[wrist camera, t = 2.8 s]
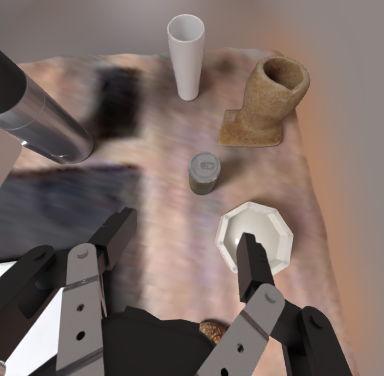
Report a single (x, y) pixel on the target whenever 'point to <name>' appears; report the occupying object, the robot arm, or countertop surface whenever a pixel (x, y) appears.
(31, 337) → the square plate
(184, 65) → the drinking glass
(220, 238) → the cream bowl
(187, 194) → the countertop surface
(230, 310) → the countertop surface
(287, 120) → the countertop surface
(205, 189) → the beer can
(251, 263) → the robot arm
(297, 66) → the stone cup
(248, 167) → the countertop surface
